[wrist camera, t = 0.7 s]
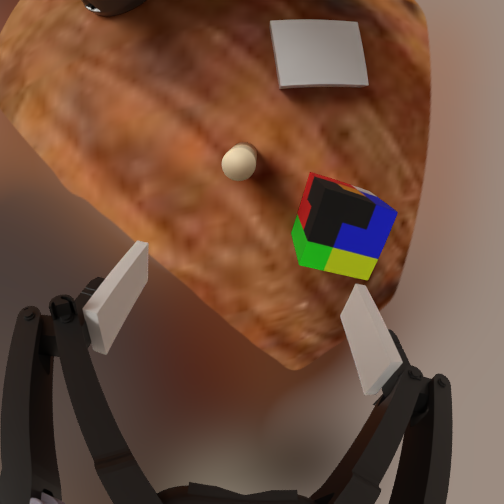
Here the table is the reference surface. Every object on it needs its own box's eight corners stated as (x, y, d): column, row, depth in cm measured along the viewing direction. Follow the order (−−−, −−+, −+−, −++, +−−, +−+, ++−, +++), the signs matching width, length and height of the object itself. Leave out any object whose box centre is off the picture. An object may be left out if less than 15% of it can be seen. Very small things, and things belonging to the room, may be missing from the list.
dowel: (229, 143, 36) (219, 150, 27) (255, 140, 36) (253, 145, 27) (233, 167, 38) (224, 182, 29) (258, 164, 37) (257, 178, 28)
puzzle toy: (369, 191, 38) (397, 212, 30) (348, 247, 43) (367, 280, 34) (309, 171, 38) (325, 187, 29) (291, 233, 42) (298, 265, 33)
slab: (269, 28, 28) (270, 20, 25) (349, 29, 27) (357, 22, 24) (279, 89, 33) (280, 86, 30) (360, 87, 32) (368, 85, 28)
